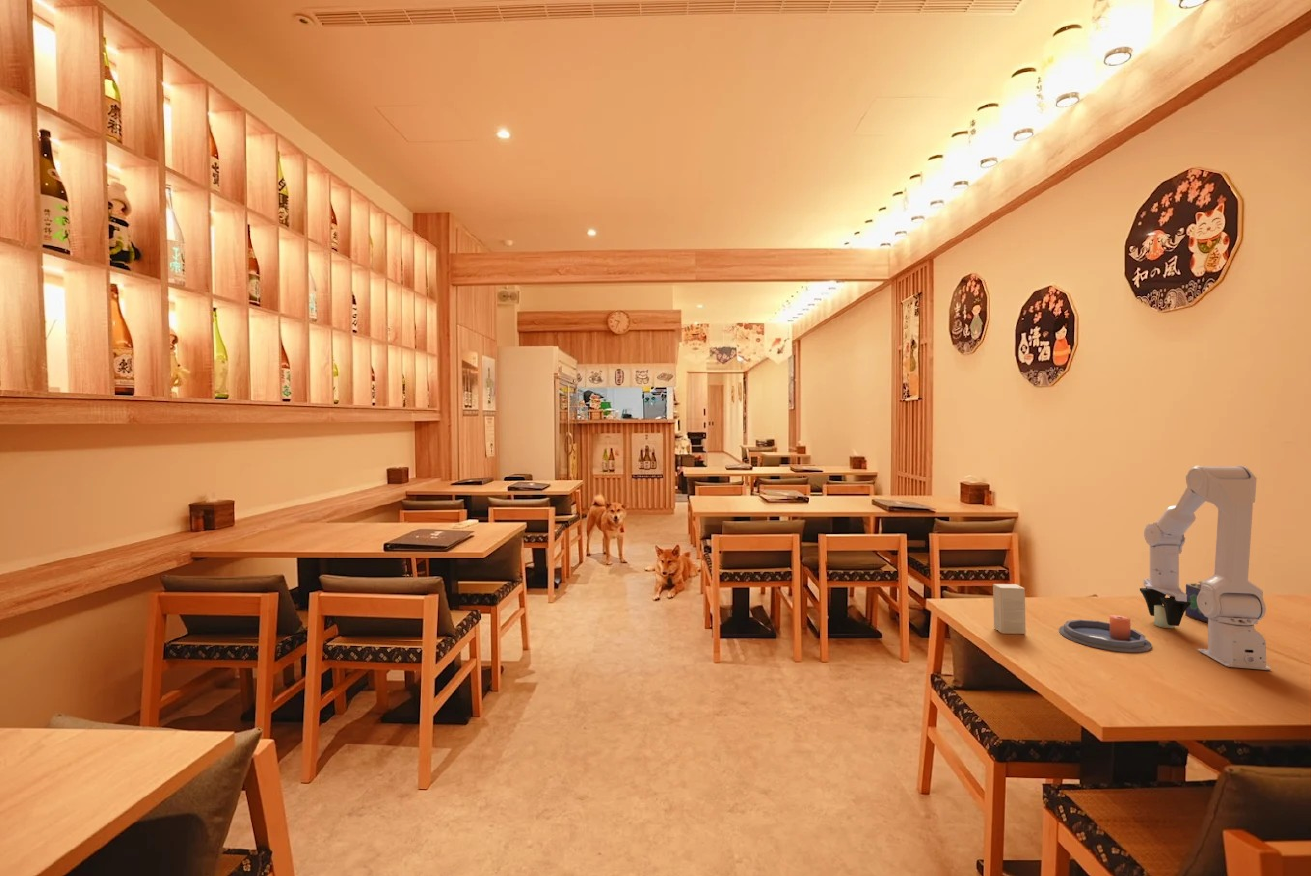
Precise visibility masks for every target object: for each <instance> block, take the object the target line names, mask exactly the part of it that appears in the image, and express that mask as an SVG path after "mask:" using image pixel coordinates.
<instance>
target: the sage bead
mask: <svg viewBox="0 0 1311 876" xmlns="http://www.w3.org/2000/svg"><path fill="white" fill-rule="evenodd" d="M1153 625H1154V626H1156V627H1160V628H1165V629H1175V627H1176V626H1170V625H1168V623H1167V619H1166V612H1165V608H1164V605H1154V616H1153Z"/></svg>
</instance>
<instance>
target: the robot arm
mask: <svg viewBox="0 0 1311 876" xmlns="http://www.w3.org/2000/svg"><path fill="white" fill-rule="evenodd" d="M1257 479H1258V478H1257V477H1256V475H1254V473H1253V472H1252V471H1251V470H1250V469H1249V468H1248V467H1246V466H1245V465H1235V466H1217V465H1216V466H1205V465H1204V466H1201V465H1194V466H1192V467H1191V468H1190V469H1189V470H1188V472H1187V474H1186V475H1185V484H1186V488H1185V490H1184V491H1183V494H1182V495H1181V497H1180V499H1179V500H1178V502H1177V503H1176V505H1170V506H1168V507H1167V508H1166V510H1165V511H1164V512H1163V514H1161V516H1160V518H1158V520H1157V522H1153V523H1148V524H1147V525H1146V526H1145V528H1144V531H1143V536H1144V540H1145V542H1146V544H1147V545H1149V578H1144V579H1143V587H1140V588H1139V591H1140V593H1141V594H1142V597H1143V598H1144V600H1145V603H1146V605H1147V606H1146V607H1147V609H1148V613H1149V615H1150V616H1151V617H1154V605H1163V606H1164V608H1165V612H1166V619H1167V623H1168V625H1170V626H1175V627H1179V626H1180V624H1181V621H1182V618H1183V615H1185V610H1186V609H1187V608H1188V607H1189V606H1190V605H1191V602H1190V601H1188V600H1187V594H1186V592H1184V591H1183V590H1182V589H1181V588H1180V554H1181V553H1182V551H1183V550H1182V549H1183V546H1184V545H1185V542H1186V537H1185V533H1186V532H1187V531H1188V530H1189V528H1190V527H1191V526H1192V525H1193V524H1194V522H1195V521H1196V515H1195V512H1196V511H1197V510H1198V509H1199V508H1200V507H1201V506H1202V505H1204V503H1206V502H1207V503H1210V504H1213V505H1214V506H1215V507H1216V508H1217V524H1216V525H1217V526H1216V527H1217V528H1216V541H1215V543H1216V544H1215V555H1214V556H1215V557H1214V574H1213V575H1212V576H1211V577H1209V578H1206V579H1205V580H1203V582H1202V583H1201V590H1200V592H1199V594H1198V596H1197V605H1198V608H1199V609H1200V611H1201V612H1202V613H1203V614H1204V616H1205V617H1208V623H1207V648H1197V651H1198V652H1200V653H1201V654H1203V655H1206V656H1207V657H1209V658H1211V659H1212V660H1214V661H1215V662H1217V663H1219V664H1221V665H1223V666H1225V667H1229V668H1239V669H1240V668H1241V669H1250V670H1251V669H1252V670H1264V671H1272V667H1270V666H1268V665H1267V642H1266V639H1265V637H1264V636H1263V634H1261V633H1260V632H1258V630H1256V627H1255V625H1259V621H1261V620H1262V619H1264V617H1265V615H1266V613H1267V607H1266V603H1265V600H1264V591H1263V590H1262V589H1261V588H1260V587H1259V586H1257V585H1256V584H1254V583H1253V582H1252V581H1250V580H1249V570H1250V569H1249V567H1250V557H1251V556H1250V555H1251V553H1250V552H1251V539H1252V538H1251V537H1252V524H1253V522H1252V521H1253V509H1254V508H1253V506H1254V505H1253V504H1254V503H1255V502H1256V492H1257V490H1256V489H1257ZM1166 596H1169V597H1166Z"/></svg>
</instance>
